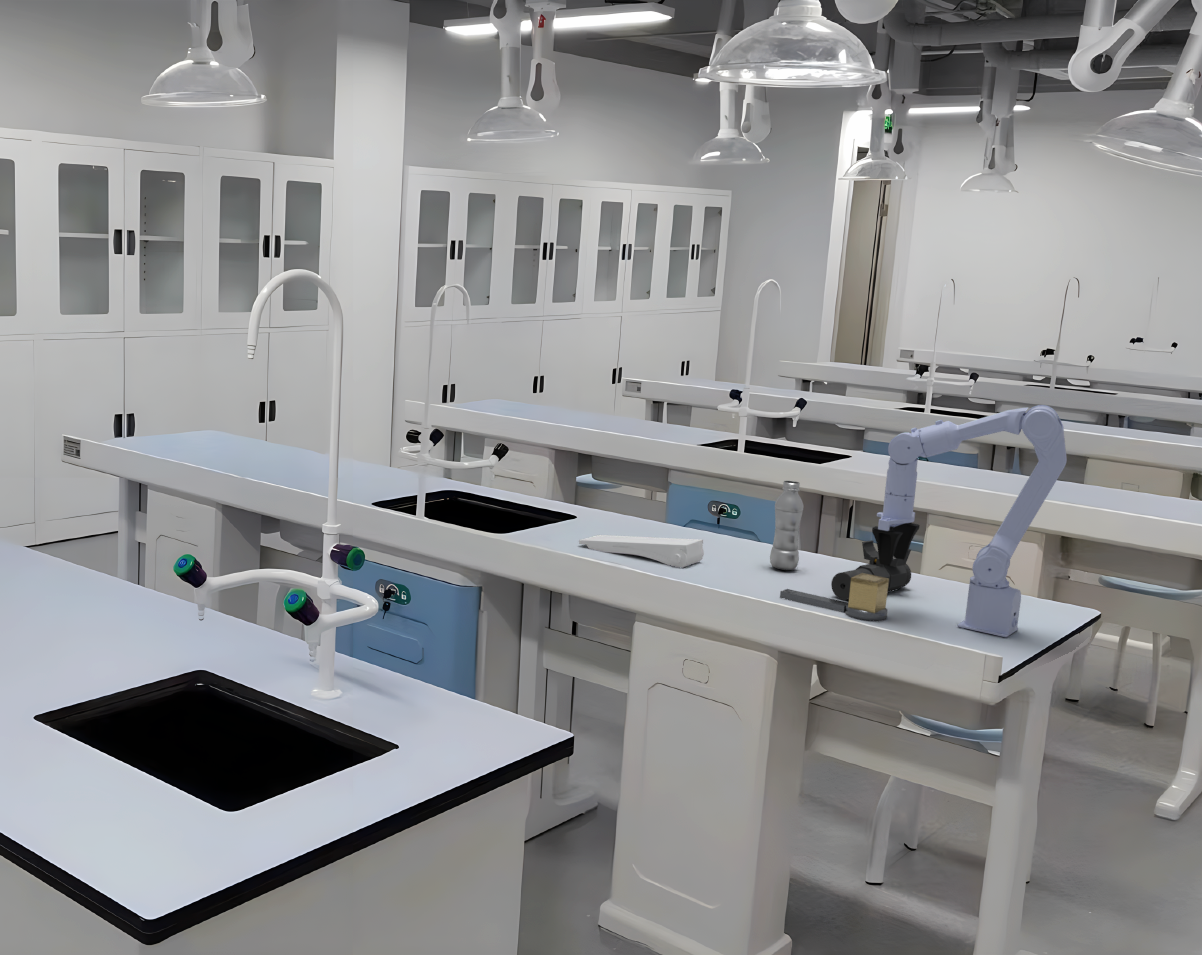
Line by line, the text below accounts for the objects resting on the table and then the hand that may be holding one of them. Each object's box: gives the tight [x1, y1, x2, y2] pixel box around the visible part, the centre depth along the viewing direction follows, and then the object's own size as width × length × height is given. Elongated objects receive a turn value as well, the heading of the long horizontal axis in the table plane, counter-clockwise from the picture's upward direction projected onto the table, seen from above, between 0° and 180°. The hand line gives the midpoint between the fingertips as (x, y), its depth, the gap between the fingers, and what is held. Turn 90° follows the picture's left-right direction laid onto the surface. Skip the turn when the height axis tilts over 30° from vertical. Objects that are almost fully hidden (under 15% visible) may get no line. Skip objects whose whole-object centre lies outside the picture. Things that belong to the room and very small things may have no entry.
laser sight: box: [830, 540, 912, 601], centre depth 247 cm, size 10×22×10 cm, turn 134°
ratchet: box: [779, 588, 888, 622], centre depth 232 cm, size 22×8×5 cm, turn 55°
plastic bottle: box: [769, 480, 805, 571], centre depth 261 cm, size 6×7×20 cm
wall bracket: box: [578, 534, 705, 569], centre depth 268 cm, size 10×7×28 cm
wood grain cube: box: [848, 573, 889, 613], centre depth 228 cm, size 6×6×6 cm
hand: (892, 561), depth 231 cm, fingers open, 7 cm apart
